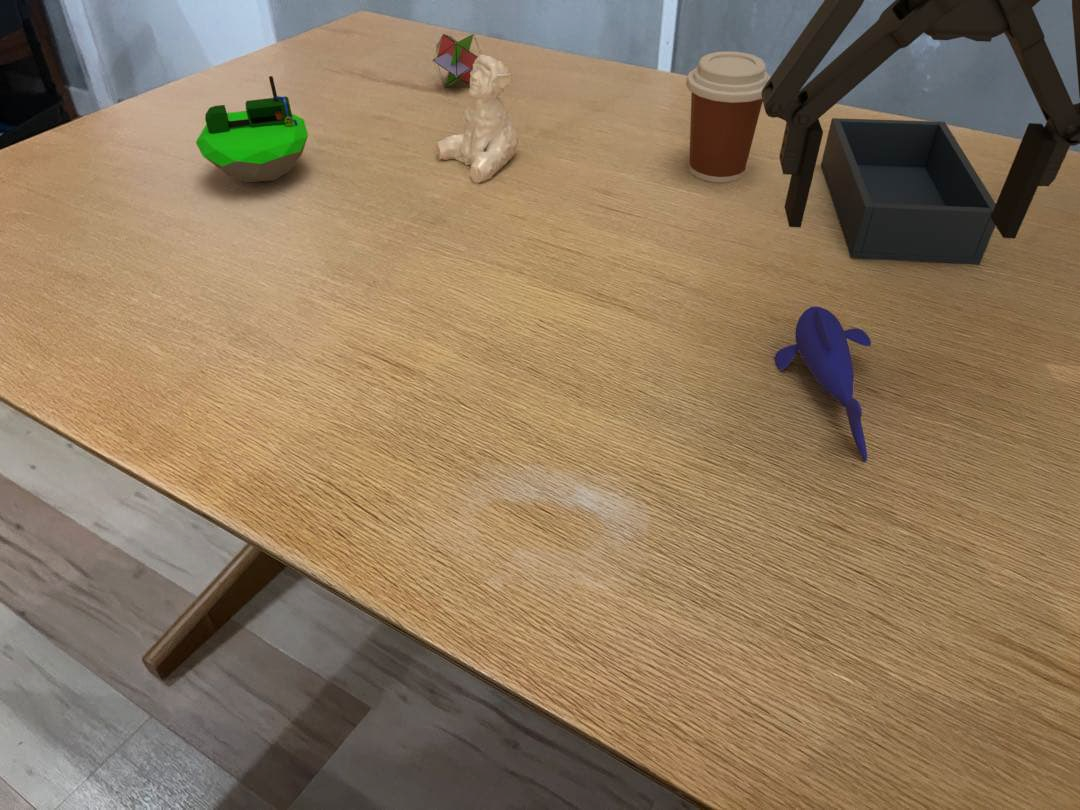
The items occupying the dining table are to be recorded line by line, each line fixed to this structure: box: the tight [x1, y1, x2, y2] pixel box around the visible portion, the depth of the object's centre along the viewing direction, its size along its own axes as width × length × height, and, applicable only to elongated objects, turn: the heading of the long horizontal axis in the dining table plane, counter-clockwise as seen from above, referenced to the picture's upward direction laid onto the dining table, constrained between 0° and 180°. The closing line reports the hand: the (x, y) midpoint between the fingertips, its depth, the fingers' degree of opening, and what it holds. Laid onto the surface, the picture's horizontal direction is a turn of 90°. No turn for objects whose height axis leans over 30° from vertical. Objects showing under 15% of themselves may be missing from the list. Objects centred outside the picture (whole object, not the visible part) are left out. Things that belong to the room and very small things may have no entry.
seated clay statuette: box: [435, 53, 520, 184], centre depth 93 cm, size 10×9×12 cm
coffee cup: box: [685, 50, 771, 183], centre depth 90 cm, size 9×9×12 cm
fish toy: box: [774, 306, 872, 463], centre depth 63 cm, size 15×8×7 cm, turn 0°
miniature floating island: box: [195, 75, 309, 183], centre depth 91 cm, size 12×12×11 cm
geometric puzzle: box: [431, 33, 483, 89], centre depth 112 cm, size 7×7×8 cm
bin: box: [820, 117, 997, 265], centre depth 85 cm, size 12×20×6 cm, turn 174°
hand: (896, 223), depth 55 cm, fingers open, 13 cm apart
